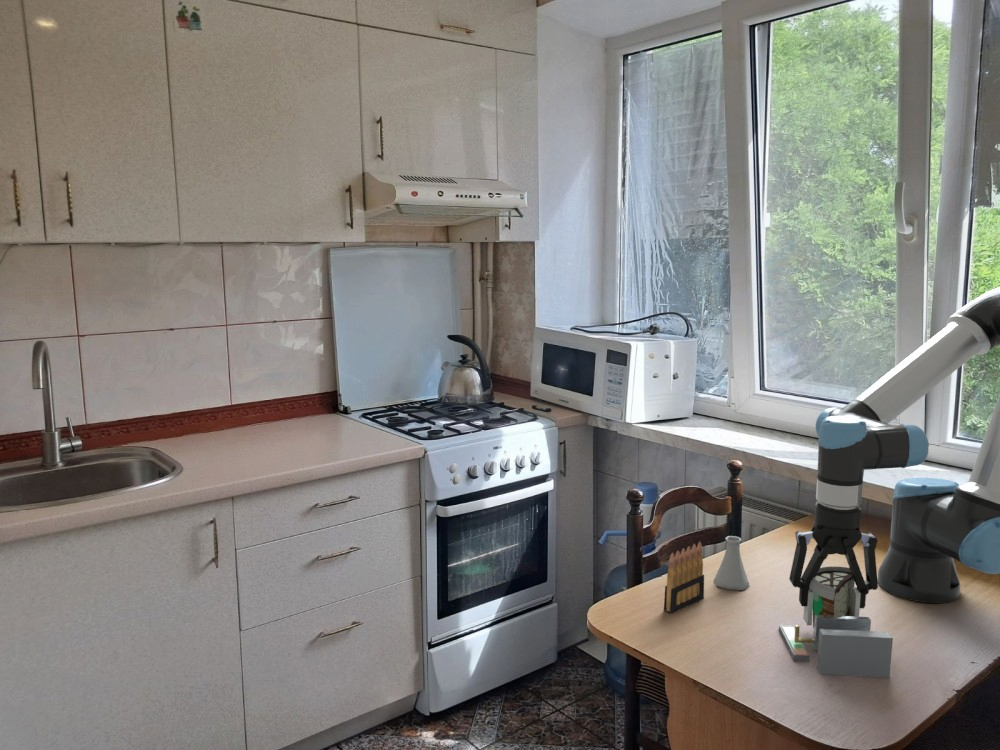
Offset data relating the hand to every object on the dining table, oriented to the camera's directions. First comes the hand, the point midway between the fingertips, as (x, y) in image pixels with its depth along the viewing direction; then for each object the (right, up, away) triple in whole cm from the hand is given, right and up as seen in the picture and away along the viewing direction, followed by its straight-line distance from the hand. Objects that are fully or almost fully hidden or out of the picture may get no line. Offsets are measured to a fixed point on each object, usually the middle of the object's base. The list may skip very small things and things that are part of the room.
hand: (830, 622), depth 146 cm
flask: (-12, +1, +22) cm, 25 cm away
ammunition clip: (-24, 0, +12) cm, 27 cm away
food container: (-1, -1, 0) cm, 1 cm away
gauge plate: (-3, -3, -7) cm, 7 cm away
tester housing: (-3, -3, -7) cm, 8 cm away
